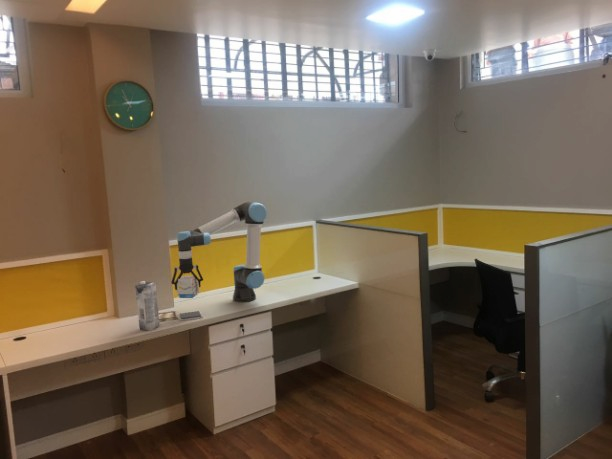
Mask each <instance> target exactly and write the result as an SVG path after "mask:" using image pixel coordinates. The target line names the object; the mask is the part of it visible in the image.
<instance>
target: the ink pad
mask: <svg viewBox="0 0 612 459" xmlns="http://www.w3.org/2000/svg"><path fill="white" fill-rule="evenodd" d="M177 314H178V317H179V319H178V320H180V322H183V321H191V319H192V320H197V318H199V319H203V314H202V313H201V311H199V310H197V311H196V310H195V311H189V312H188V311H187V312H183V313H177Z"/></svg>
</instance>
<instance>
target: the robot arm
mask: <svg viewBox="0 0 612 459" xmlns="http://www.w3.org/2000/svg"><path fill="white" fill-rule="evenodd" d="M267 215H268V210H267V208H266V206H265V205H264V204H262V203H259V202H254V201H253V202H252V201H246V202H242V203H241V204H238V205H237V206H235V207H233V208H231V209H230V211H229V212H226V213H224V214H223V215H220V216H219V217H217V218H215V219H213V220H211V221H209V222H207V223H205V224H203V225H201V226H199V227H197V228H195V229H193V230H186V231H179V232H178V233H177V234H176V235H177V236H176V238H177V239H176V240H177V247H178V248H177V249H178V258H179V260H178V262H179V266H178V267H176V266H174V271H173V275H172V279H171V281H170V282H171V285H174V290H175V291H177V293H176V294H177V296H178V297H179V286H178V279H180V278H181V277H183V276H184V274H191V276H194V277H195V278H196V280H197V293H198V294H199V293H200V288H201V282H202V281H204V278H203V276H202V274H201V271H200V269H199V265H198V264H195V265H194V264H193V258H192V257H193V253H192V251H193V250H192V247H193V248H194V247H201V246H207V245H210V244H211V239H212V238H211V236H212V235H214V234H215V233H218V232H219V231H221V230H223V229H225V228H227V227H229V226H231V225H233V224H235V223H240V222H242V221H244V224H245V225H246V229H247V230H246V253H245V254H246V255H245V256H246V258H245V264H239V265H235V266H234V267H233V280H234V281H233V282H234V290H233V293H232V294H233V295H232V301H233V302H235V303H248V302H252V301H255V300H256V299H257V295H256V292H255V290H256V289H259V288H261V286H262V285H263V284H264V281H265V274H264V272H262V271H263V266H262V265H261V264H260V260H261V234H262V233H261V232H262V226H263V225H264V221H265V219H266V218H267ZM194 269H195V270H196V272H197V274H198V276H197V274H196V273H194V271H193V270H194ZM178 271H180V273H179V274H178V276H177V273H178ZM176 276H177V277H176ZM175 279H176V280H175Z"/></svg>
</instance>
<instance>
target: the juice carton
mask: <svg viewBox="0 0 612 459" xmlns="http://www.w3.org/2000/svg"><path fill="white" fill-rule="evenodd" d="M134 288H135V294H136V306H137V316H138V317H137V318H138V324H139V325H138V326H139V330H140V331H146V332H147V331H152V330H154V329H156V328H159V327H160V322H159V313H160V312H159V304H158V295H157V294H158V293H157V282H154V281H153V282H152V281H145V280H143V281H139V284H136V285H135V286H134Z"/></svg>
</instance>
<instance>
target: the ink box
mask: <svg viewBox="0 0 612 459" xmlns="http://www.w3.org/2000/svg"><path fill="white" fill-rule="evenodd" d="M197 282H198V281H197V279H196V278H195V277H194V276H193V275H182V276H181V278H180V279H178V283H177V284H178V287H179V296H178V298H179V299H193V298H194V297H196V296H198V294H199V293H198V292H197Z"/></svg>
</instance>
